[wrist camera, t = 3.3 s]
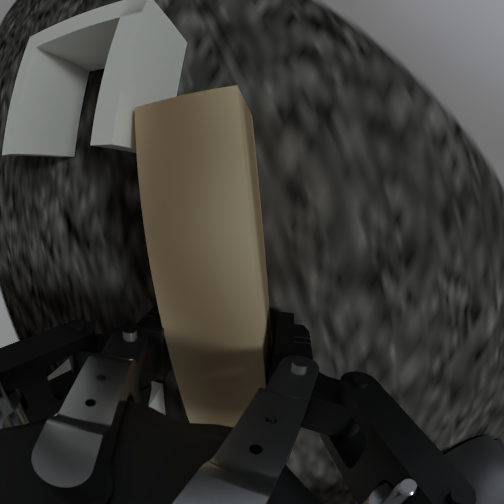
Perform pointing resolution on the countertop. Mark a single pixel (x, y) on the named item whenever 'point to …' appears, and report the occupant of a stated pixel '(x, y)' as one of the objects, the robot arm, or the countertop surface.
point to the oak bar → (206, 247)
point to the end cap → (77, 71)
